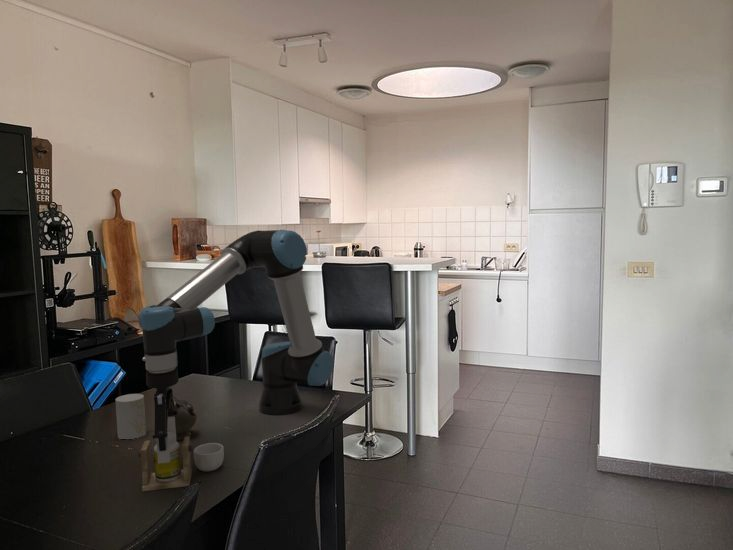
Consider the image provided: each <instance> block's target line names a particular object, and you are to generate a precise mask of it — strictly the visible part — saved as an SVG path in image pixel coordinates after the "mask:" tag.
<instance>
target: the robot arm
mask: <svg viewBox="0 0 733 550" xmlns="http://www.w3.org/2000/svg"><path fill="white" fill-rule="evenodd" d="M307 255H308V250H307V245H306V242H305V240H304V239H303V237H302V236H301V235H300V234H299V233H297V232H296V231H294V230H287V229H277V230H276V229H273V230H272V229H271V230H255V231H254V230H253V231H250V232H248V233H246V234H244V235H242V236H240V237H238V238H237V239H236V240H234V241H232V242H231V243H230V244H228V245H227V246H226V247H225V248H223V249H222V251H220V256H218V257H217V258H215V259H214V260H213V261H212V262H211V263H209V264H208V265H206V266H205V267H204V268H203V269H201V271H199V272H198V273H197V274H195V275H194V276H192V278H190V279H189V280H188V281H186V282H185V283H184V284H183V285H182V286H180V287H179V288H178V289H176V290H175V291H173V292H172V293H171V294H169V295H168V296H166V298H165V299H163V300H162V301H160V302H159V303H158V304H156V305H155V304H151V305H148V306H144V307H143V308H142V309H141V310H140V312H139V314H138V316H137V318H138V320H137V322H138V325H139V327H140V329H141V330H142V331H141V332H142V341H143V352H144V357H142V359H141V360H142V361H143V362H145V370H146V372H145V383H146V386H147V387H148V388H150V389H156V390H155V393H154V396H153V400H154V402H153V403H154V434H152V439H155V442H156V444H157V456H158V464H159V463H167V462H170V450H169V436H168V433H167V432H174V433H175V434H176V428H175V416H173V415H177V411H175V405H174V400H175V398H174V393H173V392H174V391H173V386H175V385H177V384H178V383H179V369H178V368H177V367H178V352H177V351H178V350H177V343H178V342H179V343H180V342H183V341H187V340H191V339H194V338H195V339H196V338H199V337H200V338H201V337H203V336H206V335H208V334H210V333H212V331H213V330H214V329H215V323H216V322H215V315H214V313H213V312H212V310H210V309H209V308H208V307H204V306H202V307H199V306H200V305H202V304H203V303H204V302H205V301H206V300H208V298H210V297H211V296H212V295H214V293H216V292H218V290H219V289H221V288H222V287H223V286H225V285H226V284H227V283H228V282H229V281H231V280H232V279H233V278H234V277H236V276H237V275H242V274H244V273H245V272H246V271H247V270H250V269H254V268H264V269H265V273H266V276H267V278H268V279H270V280H272V281H273V285H274V289H275V291H276V295H277V298H278V302H279V306H280V310H281V313H282V318H283V321H284V324H285V329H286V332H287V336H288V340H289V341H281V342H275V343H274V342H273V343H270V344H267V345H265V346H263V347H262V350H261V367H262V370H261V372H262V386H263V387H262V391H261V394H260V398H259V401H258V402H259V403H258V410H259V412H260V413H263V414H266V415H275V416H277V415H287V414H293V413H295V412H298V411H300V410H301V409H303V399H302V396H301V394H300V391H299V388H298V386H297V384H303V385H308V386H318V387H320V386H323V385H324V384H325V383H327V382H328V381H329V380H330V377H331V376H332V373H333V372H334V370H333V369H334V363H335V362H334V361H335V360H334V356H333V355H332V353H331V352H329V351H328V350H324V346H323V343H322V341H321V340H320V339H319V338H316V337H317V336H316V333H315V329H314V325H313V321H312V317H311V313H310V309H309V304H308V302H307V301H308V300H307V297H306V293H305V292H306V291H305V288H304V285H303V281H302V278H301V273H302V271H303V270H304V264H305V262H306V260H307ZM175 441H177V440H175Z"/></svg>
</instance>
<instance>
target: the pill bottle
mask: <svg viewBox="0 0 733 550" xmlns="http://www.w3.org/2000/svg"><path fill="white" fill-rule="evenodd" d="M167 433H168V436H169V450H170V462H167V463H159V464H158V456H157V443H156V444H155V445H154V446H153V457H154V458H153V459H154V473H155V477H156V480H157V481H160V482H169V481H173V480H176V479H177V478H179V477H180V475H181V470H182V466H181V449H180V447H181V446H180V443H179V442H178V440H176V434H175V433H174V432H167ZM175 440H176V441H175Z"/></svg>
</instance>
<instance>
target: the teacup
mask: <svg viewBox="0 0 733 550" xmlns="http://www.w3.org/2000/svg"><path fill="white" fill-rule="evenodd" d="M224 453H225V449H224V445H223V444H221V443H218V442H207V443H203V444H200V445H198V446H196V447H195V448H193V458H194V459H193V460H194V463H195V466H196V467H197V468H198V469H199V470H200V471H203V472H214V471H215V470H218V469H219V467H221V466H222V464H223V461H224V458H225V457H224Z"/></svg>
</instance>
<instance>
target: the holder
mask: <svg viewBox="0 0 733 550" xmlns="http://www.w3.org/2000/svg"><path fill="white" fill-rule="evenodd" d="M190 438H191V437H190V436H188V437H185V438H184V439H183V442H182V446H181V448H182V466H183V468H181V475H180V477H179V478H177V479H176V480H173V481H169V482H160V481H157V480H156V477H155V472H153V471H152V469H153V468H152V453H151V451H152V450H151V440H144V441H143V445H142V446H141V449H139V450H138V457H139V458H140V460H141V462H140V463H141V476H142V487H141V492H148V491H156V490H158V491H159V490H163V489H164V490H165V489H172V488H181V487H182V488H183V487H189V486H190V484H191V479H192V473H193V468H192V461H191V459H192V456H191V452H194V445H193V444H191V442H190V441H191V440H190Z"/></svg>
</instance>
